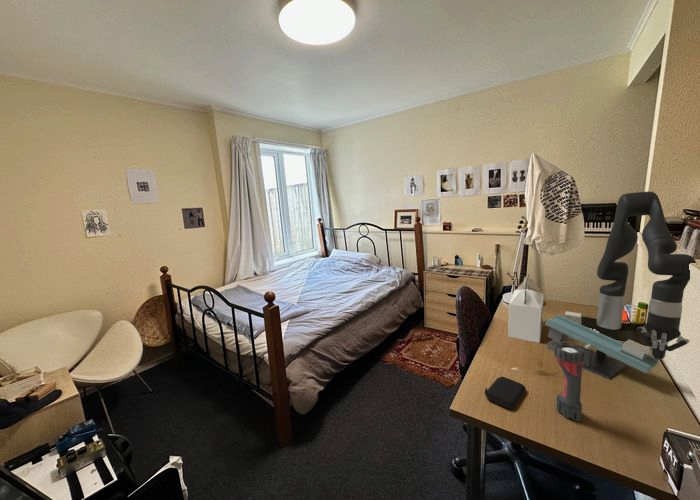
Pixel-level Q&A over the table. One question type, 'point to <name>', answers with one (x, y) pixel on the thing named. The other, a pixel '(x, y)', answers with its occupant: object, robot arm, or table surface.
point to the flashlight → (570, 379)
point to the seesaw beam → (595, 341)
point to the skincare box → (573, 318)
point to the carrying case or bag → (505, 392)
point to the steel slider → (635, 350)
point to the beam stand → (597, 361)
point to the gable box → (526, 312)
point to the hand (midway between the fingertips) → (657, 358)
